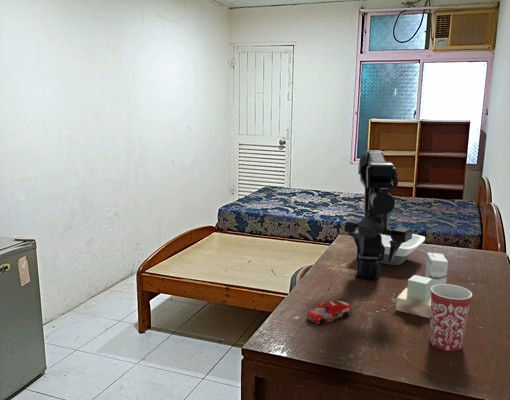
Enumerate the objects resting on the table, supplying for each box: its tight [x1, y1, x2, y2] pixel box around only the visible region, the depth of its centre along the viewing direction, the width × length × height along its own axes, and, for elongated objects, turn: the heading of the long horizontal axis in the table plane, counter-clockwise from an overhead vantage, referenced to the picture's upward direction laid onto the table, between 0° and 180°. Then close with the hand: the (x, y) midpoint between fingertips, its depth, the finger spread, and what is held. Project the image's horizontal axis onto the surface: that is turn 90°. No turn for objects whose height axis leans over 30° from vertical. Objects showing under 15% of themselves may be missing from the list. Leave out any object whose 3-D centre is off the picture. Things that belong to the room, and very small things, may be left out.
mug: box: [429, 283, 473, 352], centre depth 110 cm, size 13×9×14 cm
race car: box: [307, 300, 352, 326], centre depth 123 cm, size 13×5×4 cm, turn 119°
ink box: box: [424, 252, 449, 286], centre depth 139 cm, size 9×5×12 cm, turn 168°
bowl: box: [379, 233, 426, 266], centre depth 171 cm, size 22×23×8 cm
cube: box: [406, 274, 432, 301], centre depth 128 cm, size 5×5×5 cm
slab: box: [395, 287, 431, 319], centre depth 129 cm, size 9×9×4 cm
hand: (375, 258), depth 134 cm, fingers open, 9 cm apart
